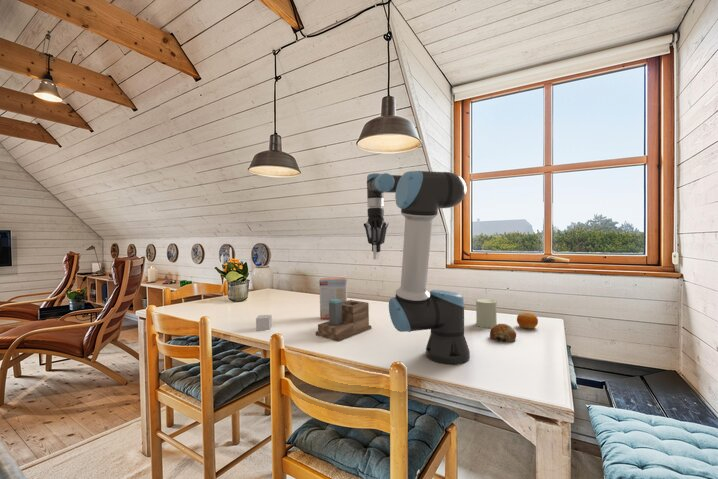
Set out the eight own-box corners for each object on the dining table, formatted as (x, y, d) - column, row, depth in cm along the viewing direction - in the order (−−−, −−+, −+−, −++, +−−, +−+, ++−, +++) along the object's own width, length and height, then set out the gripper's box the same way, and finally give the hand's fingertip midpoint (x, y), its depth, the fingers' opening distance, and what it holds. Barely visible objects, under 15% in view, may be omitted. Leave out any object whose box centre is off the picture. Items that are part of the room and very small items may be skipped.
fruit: (538, 317, 153) (530, 304, 151) (543, 329, 145) (535, 315, 143) (520, 324, 156) (512, 311, 154) (524, 335, 148) (516, 322, 147)
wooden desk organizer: (371, 328, 152) (371, 303, 151) (338, 341, 135) (338, 312, 135) (348, 323, 161) (348, 299, 160) (315, 335, 144) (315, 308, 144)
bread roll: (518, 349, 132) (523, 330, 134) (504, 343, 127) (509, 323, 129) (497, 342, 141) (501, 324, 143) (483, 336, 136) (488, 318, 138)
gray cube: (271, 327, 158) (271, 314, 158) (269, 330, 152) (269, 317, 152) (259, 327, 158) (258, 315, 158) (256, 331, 152) (256, 318, 152)
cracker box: (347, 316, 175) (347, 277, 175) (346, 319, 169) (346, 279, 169) (321, 316, 176) (321, 277, 176) (319, 319, 170) (319, 279, 170)
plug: (342, 331, 144) (341, 299, 143) (336, 333, 141) (335, 301, 140) (335, 329, 146) (335, 298, 146) (329, 331, 143) (328, 300, 143)
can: (497, 328, 149) (497, 302, 149) (476, 327, 152) (476, 301, 151) (496, 323, 158) (495, 298, 157) (475, 321, 160) (475, 297, 160)
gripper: (391, 207, 149) (392, 259, 150) (369, 209, 158) (370, 257, 158) (382, 206, 144) (383, 260, 144) (359, 208, 152) (360, 259, 153)
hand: (376, 259), depth 151 cm, fingers closed
